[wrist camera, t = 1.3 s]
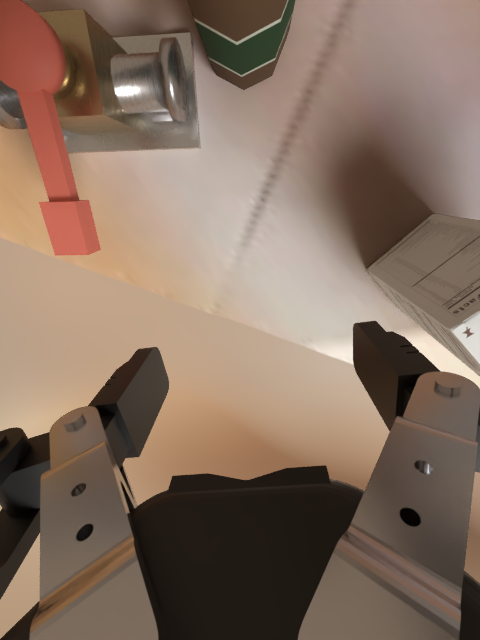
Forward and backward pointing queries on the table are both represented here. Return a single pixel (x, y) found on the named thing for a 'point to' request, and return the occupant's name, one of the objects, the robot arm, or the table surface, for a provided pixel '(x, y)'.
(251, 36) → the beer bottle
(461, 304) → the supplement box
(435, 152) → the table surface
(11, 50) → the lever
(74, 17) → the valve
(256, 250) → the table surface
